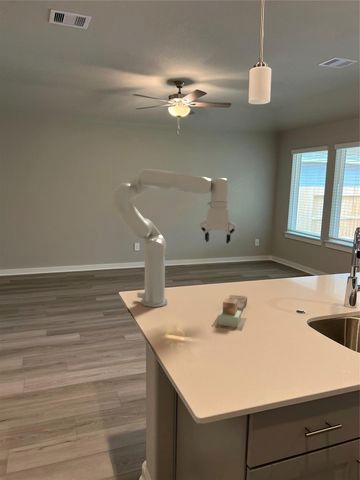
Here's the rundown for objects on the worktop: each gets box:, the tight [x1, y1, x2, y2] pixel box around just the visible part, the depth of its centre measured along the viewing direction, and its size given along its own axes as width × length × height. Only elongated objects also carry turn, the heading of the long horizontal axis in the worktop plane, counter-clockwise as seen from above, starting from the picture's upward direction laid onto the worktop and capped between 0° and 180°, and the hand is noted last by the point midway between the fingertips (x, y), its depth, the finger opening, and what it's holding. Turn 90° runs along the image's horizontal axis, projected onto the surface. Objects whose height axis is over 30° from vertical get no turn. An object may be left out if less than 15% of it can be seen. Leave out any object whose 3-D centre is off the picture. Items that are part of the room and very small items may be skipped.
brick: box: [228, 294, 248, 314], centre depth 167 cm, size 17×8×5 cm, turn 161°
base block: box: [217, 308, 242, 327], centre depth 148 cm, size 8×8×4 cm
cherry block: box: [222, 298, 237, 316], centre depth 147 cm, size 5×5×5 cm
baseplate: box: [211, 316, 247, 332], centre depth 148 cm, size 12×14×1 cm
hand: (217, 242), depth 168 cm, fingers open, 9 cm apart
